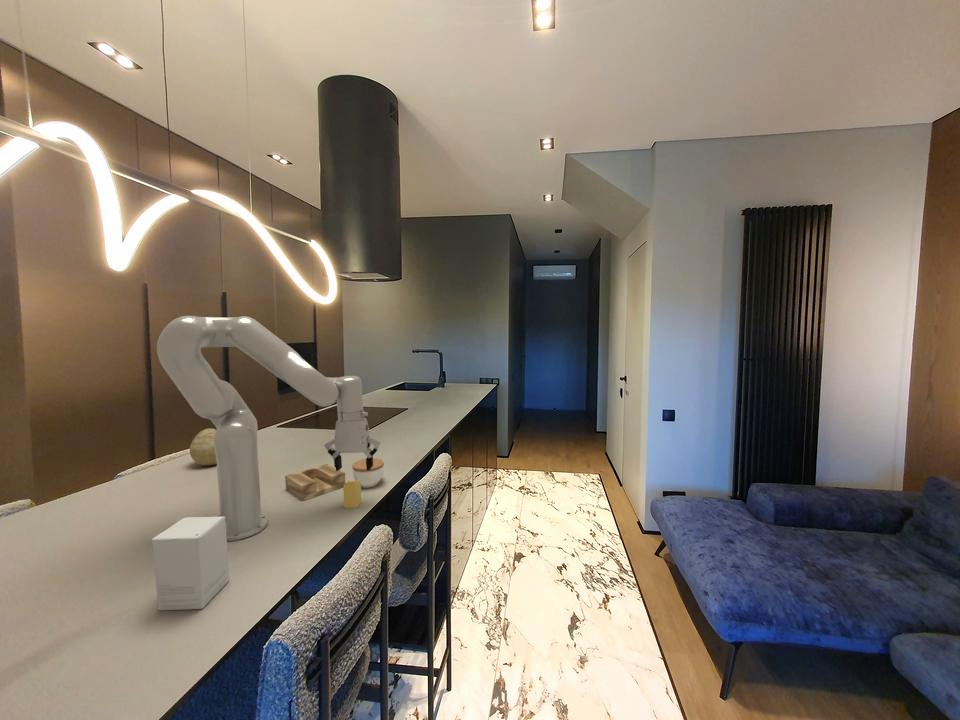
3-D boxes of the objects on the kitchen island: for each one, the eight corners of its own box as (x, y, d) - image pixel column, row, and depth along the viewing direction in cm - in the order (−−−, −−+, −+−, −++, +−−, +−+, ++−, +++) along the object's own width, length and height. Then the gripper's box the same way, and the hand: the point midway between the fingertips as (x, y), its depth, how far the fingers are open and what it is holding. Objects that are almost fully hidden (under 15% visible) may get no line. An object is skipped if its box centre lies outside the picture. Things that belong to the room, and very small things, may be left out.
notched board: (302, 501, 121) (301, 486, 121) (285, 489, 130) (285, 475, 129) (345, 486, 132) (345, 472, 132) (327, 476, 141) (327, 463, 141)
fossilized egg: (200, 472, 145) (197, 434, 144) (184, 466, 152) (182, 430, 150) (235, 462, 156) (233, 427, 155) (219, 457, 163) (217, 423, 161)
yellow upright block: (356, 507, 117) (356, 486, 116) (344, 507, 117) (343, 485, 116) (361, 501, 121) (360, 480, 120) (348, 501, 121) (348, 480, 120)
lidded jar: (346, 487, 132) (345, 461, 131) (368, 476, 142) (367, 452, 141) (369, 493, 127) (368, 466, 126) (390, 481, 137) (389, 456, 136)
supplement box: (231, 579, 83) (227, 515, 82) (203, 610, 74) (198, 537, 73) (189, 580, 83) (184, 515, 82) (155, 611, 74) (150, 538, 73)
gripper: (381, 412, 120) (384, 464, 122) (328, 413, 120) (331, 465, 122) (374, 418, 113) (377, 473, 114) (317, 419, 113) (321, 474, 115)
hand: (354, 469), depth 118 cm, fingers open, 9 cm apart
